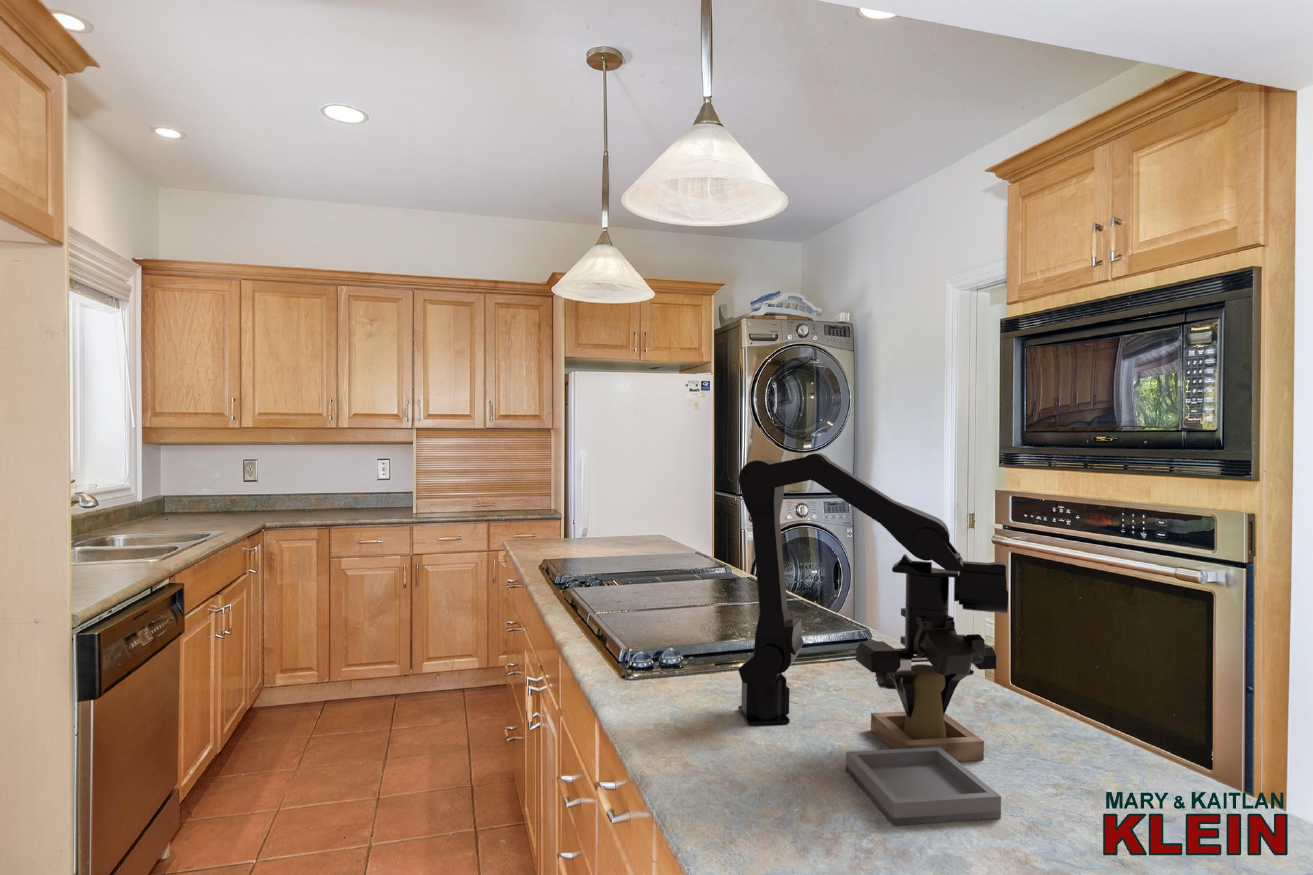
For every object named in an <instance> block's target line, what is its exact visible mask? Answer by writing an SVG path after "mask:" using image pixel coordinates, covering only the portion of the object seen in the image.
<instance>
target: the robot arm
mask: <svg viewBox="0 0 1313 875" xmlns="http://www.w3.org/2000/svg"><path fill="white" fill-rule="evenodd" d="M808 481H813V482H815V483H816V484H817V485H819V486H821V487H822V488H824V489H826V490H827V491H828V492H830V493H832V494H833V495H835V496H837V497H838V498H839V499H841V500H843V501H844V502H847V504H849V505H851V506H852V507H853V508H855V509H856V510H859V511H860V512H861V513H863V514H865V515H866V516H867V517H869V518H871V519H872V520H873V521H876V522H877V523H879V525H881V526H882V527H883V528H884V529H885V530H887V532H888V533H890V536H892V537H893V538H894V539H895V540H896V541H897V543H899V544H900V545H901V546H902V547H904V548H905V549H906V550H907V551H908V552H909V553H910V554H911V555H913V557H915V558H917V559H919V560H912V559H911V558H909V556H908V555H907V554H905V553H904V554H903V555H902V557H901V558H900V560H899V561H897V562H896V563H893V566H892V568H891V570H892V572H893V573H895V574H896V573H897V574H905V606H904V608H903V607H902V608H901V607H900V616H902V617H904V618H905V619H904V622H905V624H904V636H900V641H899V642H900V644H901V645H902V646H904V648H902V647H901V648H895V647H893V646H891V645H889V644H888V643H886V642H885V641H883V640H881V641H880V640H879V641H861V642H860V643H859V644H858V645H857V647H856V648H855V661H856V662H858V663H859V664H860V665H862V666H863V667H864V668H865V669H867V670H868V671H870V672H871V673H875V674H876V673H889V675H890V676H891V678H892V680H893V682H894V684H895V687H896V689H895V690H896V691H897V694H898V696H899V700H900V702H901V704H902V707H903V709H904V712H906V715H907V716H909V717H911V716H912V712H913V709H914V701H913V682H914V680H915V678H916V677H917V674H916V673H914V672H913V671H911V666H912V663H930V665H931V666H933V668H934V670H935V671H936V672H937V673H939V674H941V675H944V676H945V687H944V689H943V691H942V692H941V698H942V706H943V715H944V714H946V712H947V709H948V707H949V705H950V702H951V700H952V697H953V694H954V692H955V691H956V689H957V687H958V685H959V683H960V682H961V680H963V679H965V678H967V676H968V677H969V676H973V675H974V673H975V671H974V670H973V669H971V668H972V665H973V666H974V667H975V668H976V669H978V670H997V669H998V663H999V662H998V656H999V655H998V654H997V652H996V650H995V649H994V647H993V646H990V645H989V644H986V643H985V641H986V640H985V639H984V638H983V637H982V635H981V634H979V633H976V634H974V633H973V634H966V635H965V634H958V633H957V630H956V625H955V624H956V623H955V618H954V616H951V615H949V608H950V607H949V603H950V602H949V601H950V600H949V598H950V592H949V591H950V578H954V581H953V582H954V583H953V584H954V586H953V602H958V605H961V606H962V607H961V608H962V610H966V611H976V612H984V613H985V612H987V613H995V614H996V613H997V614H1006V615H1007V614H1008V611H1009V610H1008V608H1009V589H1008V587H1007V584H1008V583H1007V566H1006V563H1004V562H1001V561H1000V562H999V561H998V562H997V561H991V562H979V561H968V560H967V561H966V560H963V557H962V556H961V553H960V552H958V550H957V549H956V548H955V547H954V545H953V543H951V540H950V538H951V537H950V536H951V535H950V530H949V527H948V526H947V524H946V523H945V521H943V520H942V519H941V518H939V517H937V516H935V515H932V514H930V513H928V512H926V511H922V510H920V509H917V508H914V507H912V506H909V505H906V504H904V503H901V502H898V501H896V500H895V499H892V498H891V497H890V496H888V495H887V494H885V493H883V492H881V491H880V490H879V489H877V488H876V487H874V486H872V485H871V484H869V483H867V482H865V481H864V480H862V479H861V478H859V477H858V476H856V475H855V474H853V473H851V471H848V470H847V469H844V468H843V467H841V466H840V465H838V464H837V463H835V462H833V461H832V460H831V459H830V458H829V457H828V456H827V455H825V454H823V453H821V452H819V453H809V454H807V455H805V456H803V457H799V458H798V457H797V458H792V459H788V460H785V461H780V462H776V461H775V460H772V459H757V460H756V459H755V460H752V461H749V462H747V463H745V465H744V466H743V467H742V468H741V470H740V471H739V473H738V484H739V489H740V493H741V495H742V496H741V497H742V500H743V503H744V505H745V507H746V511H747V512H748V514H749V517H750V520H751V526H752V538H753V548H754V549H753V550H754V561H755V572H756V574H755V575H756V584H757V596H758V607H759V613H758V614H759V615H758V618H757V622H756V623H757V624H756V628H755V633H754V645H753V653H752V654H751V655H750V656H749V657H748V659H746V660H745V662H743V664H742V665H741V666H740V667H739V668H738V672H739V673H738V674H739V676H740V679H741V705H738V707H737V709H738V711H739V713H740V714H741V716H742V717H743V718H744V720H745V722H746V723H747V724H748V725H749V726H754V725H755V726H756V725H773V724H775V725H776V724H780V725H781V724H789V723H790V721H791V720H790V718H789V717H788V715H789V714H790V695H791V694H790V687H788V686H787V678H786V676H785V675H784V674H783V673H785V672H786V671H787V670H788V669H789V668H790V667H791V665H792V664H793V663H794V661H796V658H797V657H798V655H799V654H800V650H801V648H802V646H803V645H804V643H805V640H804V639H803V637H802V633H801V632H802V631H801V630H802V629H801V628H802V618H801V617H796V618H793V617H792V615H791V613H790V611H789V610H790V609H789V607H788V598H787V589H786V578H785V566H784V555H783V554H784V553H783V552H784V551H783V543H782V542H783V541H782V531H781V519H780V518H781V517H780V516H781V512H782V506H783V501H784V496H785V495H784V494H785V486H791V485H794V484H798V483H803V482H808ZM932 561H933V562H934V563H935V564H937V565H938V566H940V567H941V568H936V567H933V563H932Z"/></svg>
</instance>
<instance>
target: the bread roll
mask: <svg viewBox="0 0 1313 875" xmlns="http://www.w3.org/2000/svg"><path fill="white" fill-rule="evenodd" d="M875 678H876V682H877V685H878V686H880V687H883V688H887V689H891V690H897V689H896V687H895V684H894V682H893V680H892V678H891V676H890V675H889V673H875Z"/></svg>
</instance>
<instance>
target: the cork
mask: <svg viewBox="0 0 1313 875" xmlns="http://www.w3.org/2000/svg"><path fill="white" fill-rule="evenodd" d="M911 671H913V672H914V673H916V674H917V677H916V678H915V680H914V682H913V701H914V709H913V712H912V716H911V717H909V716H907V715H906V720H905V726H904V733H905V734H906V735H908V736H909V737H910V738H911V739H912V740H918V739H938V738H946V731H945V723H944V715H943V706H942V698H941V692H942V691H943V689H944V687H945V676H944V675H941V674H939V673H937V672H936V671H935V670H934V668H933V666H932V664H923V663H917V664H912V665H911Z"/></svg>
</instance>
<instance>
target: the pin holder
mask: <svg viewBox="0 0 1313 875" xmlns="http://www.w3.org/2000/svg"><path fill="white" fill-rule="evenodd" d="M905 720H906V712H905V711H887V712H871V713H870V731H872V732H873V733H874V734H875V735H876V736H877V737H878V738H879V739H880V740H881V741H882V742H884V744H886V746H888V748H890V749H909V748H928V747H941V748H942V749H943V750H944V751H946V752H947V753H948V754H949V755H950V756H952V757H953V758H954V759H955V760H957V761H958V762H963V761H965V762H967V761H981V760H982V761H983V760H984V759H985V758H984V757H985V740H983V739H982V738H980V737H979V736H977V735H976V734H974V733H973V731H970V730H969V729H967V728H966V727H965V726H964V725H962V724H960V722H958V721H957V720H955V718H952V717H951V716H949V715H948V714H946V713H945V714H944V723H945V731H946V738H938V739H918V740H912V739H911V738H910V737H909V736H908V735H906V734H905V733H904V726H905Z"/></svg>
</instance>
